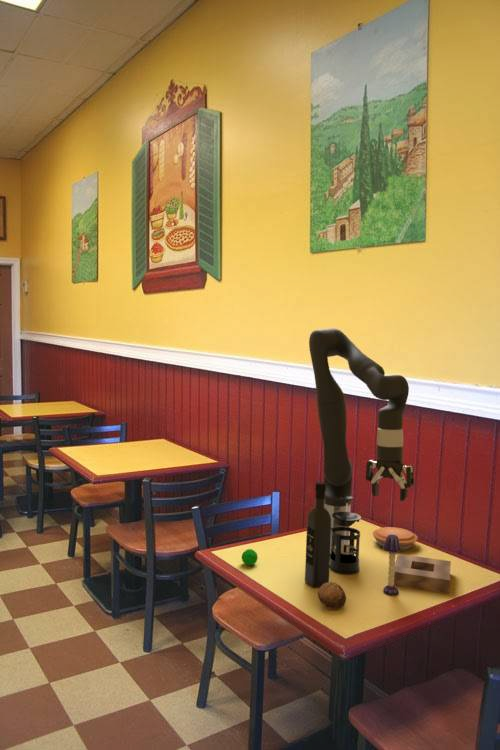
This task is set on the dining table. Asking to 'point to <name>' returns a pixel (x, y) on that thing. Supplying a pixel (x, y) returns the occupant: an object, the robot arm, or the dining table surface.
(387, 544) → the toy lamp
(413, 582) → the socket block
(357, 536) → the french press
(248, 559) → the green ball
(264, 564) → the dining table surface
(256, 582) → the dining table surface
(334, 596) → the brown round lump
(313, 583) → the wine bottle
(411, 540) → the pie
